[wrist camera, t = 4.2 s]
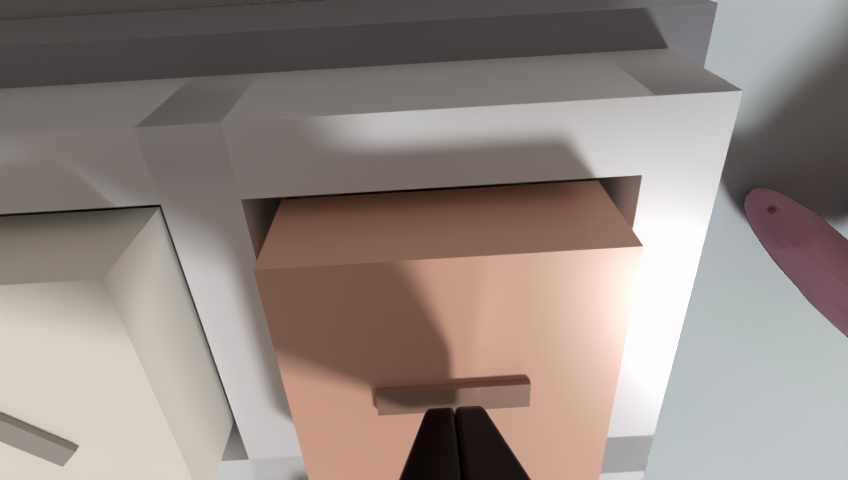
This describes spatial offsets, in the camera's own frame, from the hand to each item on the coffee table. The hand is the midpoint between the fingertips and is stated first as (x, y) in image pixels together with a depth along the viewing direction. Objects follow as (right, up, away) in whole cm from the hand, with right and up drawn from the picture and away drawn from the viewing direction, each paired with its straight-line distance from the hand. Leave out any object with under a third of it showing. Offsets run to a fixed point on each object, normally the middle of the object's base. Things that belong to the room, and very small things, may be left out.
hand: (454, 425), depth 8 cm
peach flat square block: (0, +1, +2) cm, 3 cm away
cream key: (-7, +1, +2) cm, 8 cm away
